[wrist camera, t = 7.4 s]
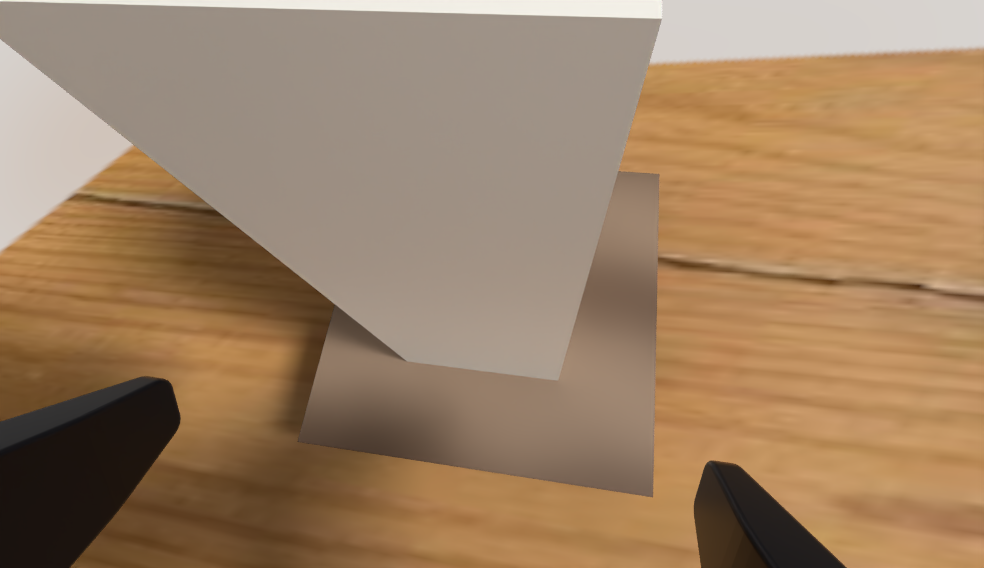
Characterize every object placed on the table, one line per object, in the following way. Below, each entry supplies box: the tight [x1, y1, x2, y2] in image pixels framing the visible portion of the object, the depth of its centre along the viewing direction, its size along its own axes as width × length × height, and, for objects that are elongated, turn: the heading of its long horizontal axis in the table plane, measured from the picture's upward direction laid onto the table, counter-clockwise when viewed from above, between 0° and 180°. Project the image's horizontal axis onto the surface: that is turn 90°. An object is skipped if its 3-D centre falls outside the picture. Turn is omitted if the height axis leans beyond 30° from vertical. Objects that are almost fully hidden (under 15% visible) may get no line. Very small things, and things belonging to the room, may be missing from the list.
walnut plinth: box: [298, 171, 659, 497], centre depth 17 cm, size 11×11×2 cm
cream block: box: [0, 0, 662, 381], centre depth 10 cm, size 5×5×13 cm
